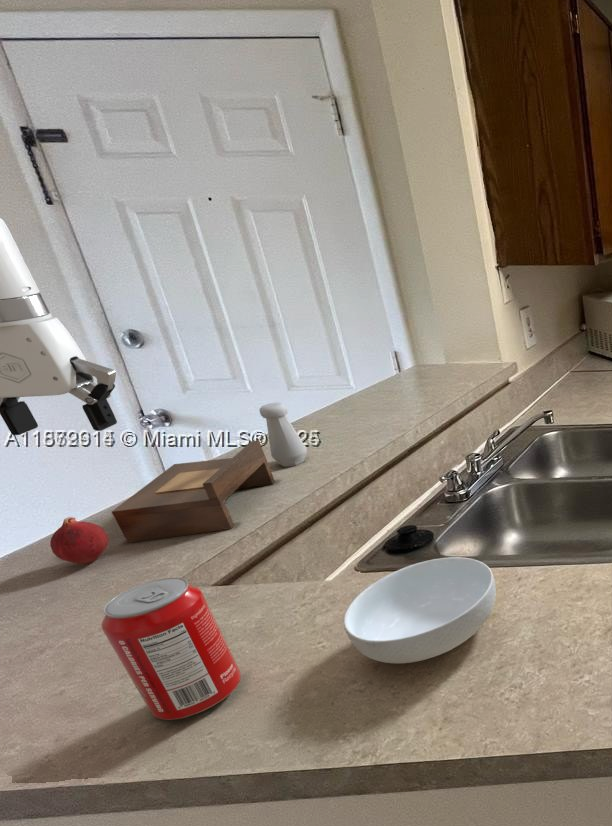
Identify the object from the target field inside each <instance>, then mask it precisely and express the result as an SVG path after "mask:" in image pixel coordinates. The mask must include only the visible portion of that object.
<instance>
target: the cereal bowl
mask: <svg viewBox="0 0 612 826" xmlns="http://www.w3.org/2000/svg"><path fill="white" fill-rule="evenodd" d="M496 594H497V588H496V581H495V577H494V573H493V571H492V570H491V568H490V567H489V566H488V565H487V564H485V563H484V562H482V561H480V560H477V559H475V558H469V557H461V556H452V557H440V558H434V559H430V560H425V561H424V560H423V561H421V562H416V563H414V564H410V565H408V566H405V567H402V568H400V569H398V570H395V571H394V572H391V573H389V574H387V575H385V576H383V577H381V578H380V579H378V580H377V581H375V582H373V583H371V584H370V585H369V586H368V587H366V588H365V589H364V590H362V591H361V592H360V593H359V594H358V595H357V596H356V597H355V598H354V599H353V601H352V602H351V603H350V604H349V605H348V607H347V609H346V611H345V613H344V616H343V627H344V631H345V633H346V635H347V637H348V639H349V640H350V642H351V644H352V645H353V646H354V647H355V649H357V651H358V652H359V653H360V654H362V655H363V656H365V657H366V658H368V659H371V660H374V661H377V662H381V663H385V664H386V663H387V664H388V663H389V664H407V663H408V664H411V663H417V662H421V661H426V660H428V659H431V658H434V657H438V656H440V655H443V654H446V653H448V652H449V651H452V650H454V649H455V648H457V647H459V646H460V645H462V644H463V643H464V642H466V641H468V639H470V638H471V637H472V636H474V635H475V634H476V633H477V632H478V630H480V629H481V628H482V627H483V626H484V624H485V623H486V622H487V621H488V618H490V616H491V613H492V612H493V609H494V608H495V607H494V606H495V603H496V597H497V595H496Z"/></svg>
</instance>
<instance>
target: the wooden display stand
mask: <svg viewBox="0 0 612 826" xmlns="http://www.w3.org/2000/svg"><path fill="white" fill-rule="evenodd" d="M270 467H271V466H270V465H269V462H268V460H267V457H266V454H265V452H264V450H263V447H262V444H261V442H260V440H251V441H250V442H248V444H247V445H245V446H244V447H243V448H242V449H241V450H239V452H237V453H236V454H235V455H234V456H233V457H228V458H221V459H220V458H219V459H209V460H199V461H190V462H181V463H174V464H172V465H171V466H169V467H168V468H167V469H166V470H164V471H163V472H162V473H161V474H159V475H158V476H157V477H155V478H154V479H153V480H151V481H150V482H148V483H147V484H146V485H145V486H143V487H142V488H141V489H139V490H138V491H137V492H135V493H134V494H132V495H131V496H130V497H129V498H127V499H126V500H125V501H124V502H123V503H121V504H120V505H118V506H117V507H115V508H114V509H113V510H111V514H112V515H113V518H114V519H115V521H116V523H117V525H118V527H119V529H120V531H121V533H122V535H123V537H124V538H125V541H126V543H127V544H129V543H137V542H144V541H151V540H159V539H167V538H174V537H182V536H188V535H196V534H197V535H198V534H203V533H210V532H217V531H225V530H231V529H233V528H234V527H235V523H234V521H233V518H232V516H231V514H230V512H229V510H228V507H227V505H226V503H225V501H226V500H227V499H228V498H229V497H230V496H232V494H233V493H234V492H235V491H236V490H237V489H246V488H253V487H254V488H255V487H262V486H270V485H271V486H272V485H274V483H276V479H275V478H274V475H273V473H272V470H271V468H270Z"/></svg>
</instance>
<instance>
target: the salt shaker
mask: <svg viewBox="0 0 612 826" xmlns="http://www.w3.org/2000/svg"><path fill="white" fill-rule="evenodd" d="M288 413H289V408H288V407H287V405H286V404H285V403H283V402H269V403H267V404H264V405H262V406H260V408H259V414H260V416H261V417H262V418H263V419H265V420H266V426H267V434H268V441H269V449H270V455H271V457H272V459H273V460H274V461H275V462H277V463H278V465H280V466H282V467H284V468H287V467H295V466H298V465H300V464H303V463H305V460H306V456H307V453H308V448H307V446H306V445H305V443H304V442H303V440H302V439H301V437H300V436H299V434H298V433H297V431H296V429H295V428H294V426H293V424H292V423H291V421H290V420H289V418H288V417H287V414H288Z"/></svg>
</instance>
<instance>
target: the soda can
mask: <svg viewBox="0 0 612 826" xmlns="http://www.w3.org/2000/svg"><path fill="white" fill-rule="evenodd" d="M103 613H104V615H105V616H104V618H103V620H102V621H101V630H102V631H103V633H104V635H105V637H106V638H107V639H108V640H107V641H108V642H109V643H110V645H111V647H112V649H113V650H114V652H115V654H116V655H117V657H118V659H119V661H120V662H121V664H122V666H123V667H124V669H125V671H126V672H127V675H128V676H129V678H130V680H131V681H132V683H133V685H134V686H135V688H136V690H137V691H138V693H139V696H141V698H142V700H143V702H144V703H145V705H146V707H147V708H148V710H149V712H150V713H151V715H153V717H155V718H157V719H159V720H163V721H164V720H166V721H167V720H168V721H171V720H179V719H184V718H188V717H192V716H194V715H197V714H200V713H202V712H205V711H207V710H208V709H210V708H211V709H212V708H213V707H214V706H216V705H217V704H219V703H220V702H222V701H223V700H224V699H226V698H227V697H229V696H230V695H231V694H232V693H233V692H234V691H235V690H236V688H237V687H238V685H239V684H240V681H241V679H242V674H241V670H240V668H239V666H238V664H237V663H236V659H235V658H234V656H233V654H232V651H231V650H230V648H229V645H228V644H227V641H226V640H225V638H224V635H223V633H222V631H221V629H220V627H219V625H218V622H217V621H216V618H215V617H214V614H213V612H212V610H211V608H210V606H209V604H208V602H207V599H206V598H205V596H204V594H203V593H202V591H201V589H200V588H198V587H196V586H194V585H191V584H189V583H188V581H187V580H186V579H184V578H180V577H166V578H159V579H155V580H151V581H147V582H144V583H142V584H141V583H140V584H139V585H136V586H134V587H131V588H129V589H126V590H124V591H123V592H121V593H119V594H117V595H116V596H114V597H113V598H112V599H110V600H109V601H108V602H107V603H106V604H105V605H104V606H103Z"/></svg>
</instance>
